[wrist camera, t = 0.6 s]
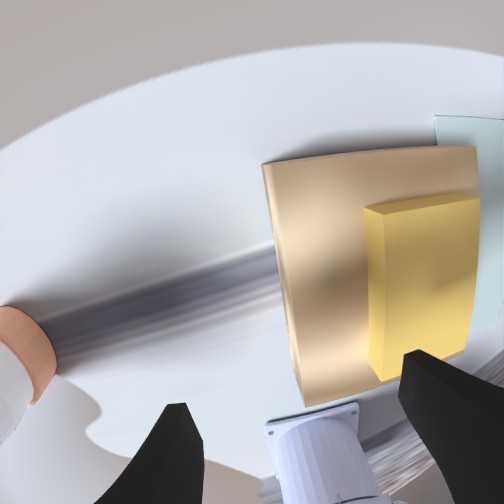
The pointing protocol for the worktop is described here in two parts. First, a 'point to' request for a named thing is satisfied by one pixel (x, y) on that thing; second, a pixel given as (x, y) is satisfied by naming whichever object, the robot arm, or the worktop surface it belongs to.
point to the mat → (483, 207)
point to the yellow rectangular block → (420, 277)
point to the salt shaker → (21, 366)
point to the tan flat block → (344, 250)
